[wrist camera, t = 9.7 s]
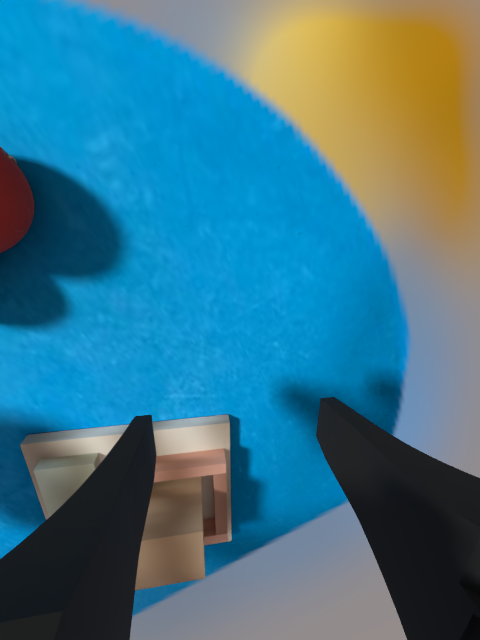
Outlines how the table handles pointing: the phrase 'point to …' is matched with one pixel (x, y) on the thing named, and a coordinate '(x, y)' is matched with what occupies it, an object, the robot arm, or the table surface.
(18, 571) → the robot arm
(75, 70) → the table surface
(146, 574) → the walnut block
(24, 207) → the kendama
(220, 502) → the puzzle board
